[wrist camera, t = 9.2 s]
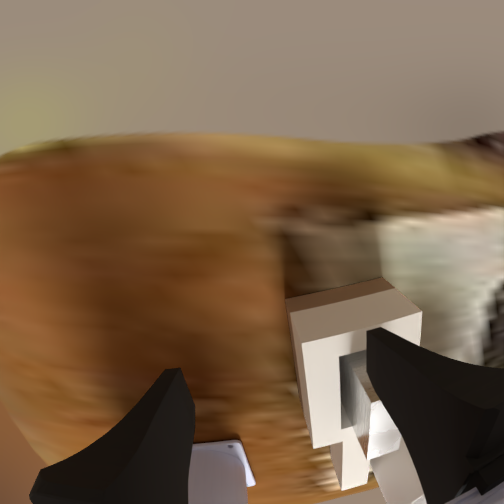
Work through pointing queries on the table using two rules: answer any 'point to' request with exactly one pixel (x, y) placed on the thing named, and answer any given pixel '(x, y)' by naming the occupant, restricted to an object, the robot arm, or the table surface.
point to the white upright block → (366, 408)
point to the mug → (398, 477)
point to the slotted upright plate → (327, 359)
